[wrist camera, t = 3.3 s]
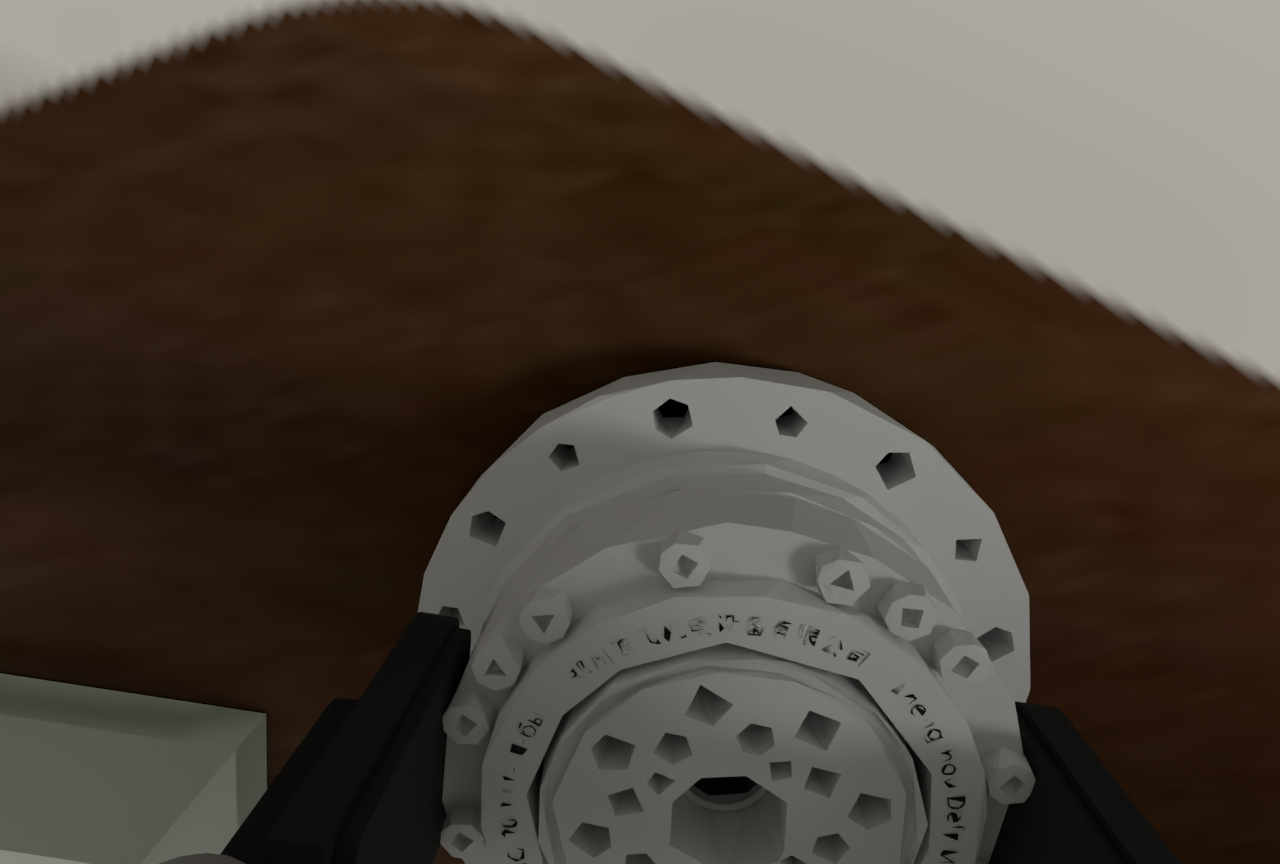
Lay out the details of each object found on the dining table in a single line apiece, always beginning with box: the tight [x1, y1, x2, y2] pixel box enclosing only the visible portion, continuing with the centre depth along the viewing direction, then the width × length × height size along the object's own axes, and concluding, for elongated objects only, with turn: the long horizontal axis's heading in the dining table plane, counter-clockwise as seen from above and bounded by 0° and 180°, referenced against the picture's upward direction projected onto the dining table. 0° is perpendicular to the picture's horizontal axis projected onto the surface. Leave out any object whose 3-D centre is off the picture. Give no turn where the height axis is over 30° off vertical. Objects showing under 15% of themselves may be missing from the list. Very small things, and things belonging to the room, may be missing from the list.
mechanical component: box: [418, 362, 1035, 864], centre depth 11 cm, size 10×4×10 cm
